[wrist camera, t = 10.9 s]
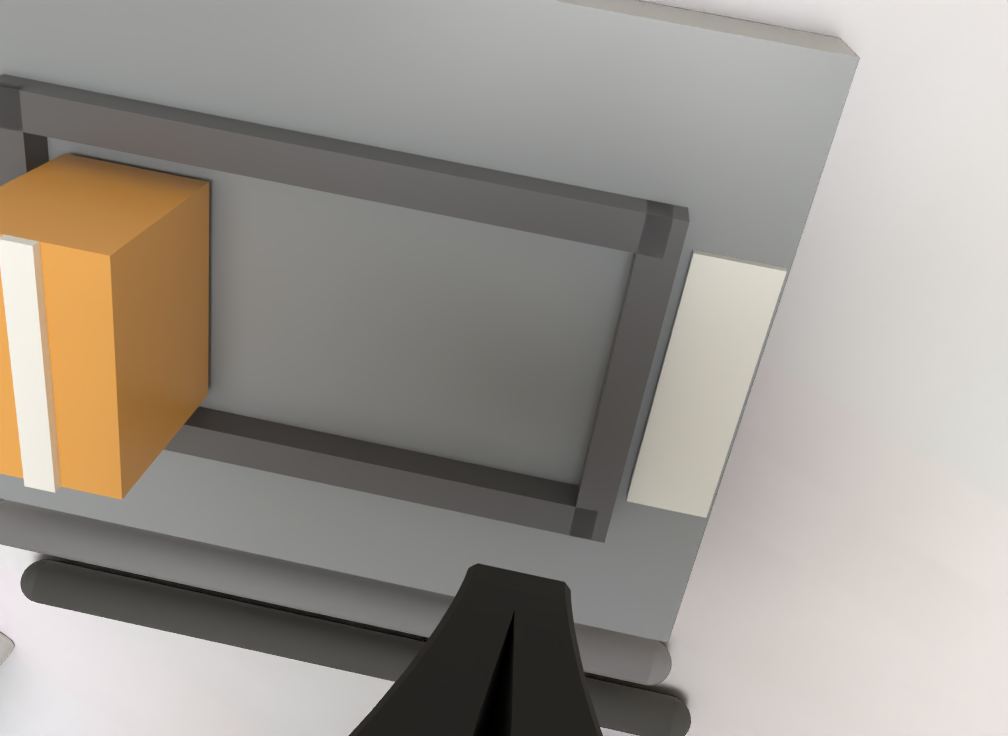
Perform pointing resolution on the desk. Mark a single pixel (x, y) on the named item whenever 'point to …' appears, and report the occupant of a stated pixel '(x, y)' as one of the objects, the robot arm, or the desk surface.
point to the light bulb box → (5, 647)
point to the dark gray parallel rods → (301, 589)
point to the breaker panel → (451, 268)
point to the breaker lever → (99, 321)
